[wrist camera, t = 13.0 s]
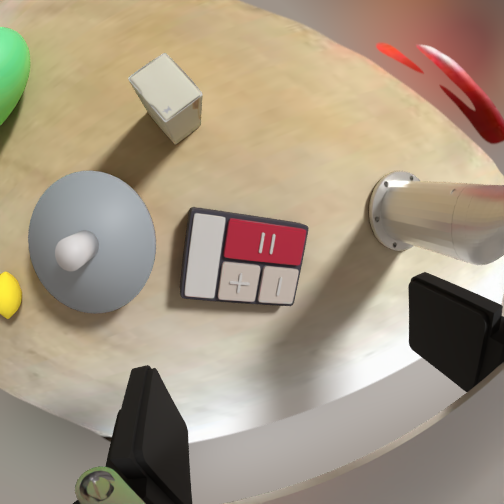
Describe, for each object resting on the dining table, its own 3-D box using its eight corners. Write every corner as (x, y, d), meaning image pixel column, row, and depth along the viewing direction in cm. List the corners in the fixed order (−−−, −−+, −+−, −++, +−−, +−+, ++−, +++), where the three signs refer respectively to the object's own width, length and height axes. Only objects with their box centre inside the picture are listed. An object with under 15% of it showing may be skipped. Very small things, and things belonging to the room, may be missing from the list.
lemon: (2, 266, 33) (-17, 271, 28) (27, 271, 34) (9, 277, 29) (3, 310, 33) (-15, 319, 28) (28, 317, 34) (12, 327, 29)
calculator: (295, 308, 39) (180, 300, 35) (284, 297, 43) (179, 289, 39) (312, 226, 37) (191, 208, 33) (298, 222, 41) (189, 206, 37)
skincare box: (202, 125, 35) (207, 96, 23) (174, 146, 35) (167, 126, 23) (172, 90, 33) (165, 49, 21) (145, 110, 33) (126, 77, 21)
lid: (133, 150, 28) (121, 142, 23) (175, 290, 32) (172, 310, 27) (17, 200, 26) (-9, 203, 21) (60, 323, 30) (42, 345, 25)
